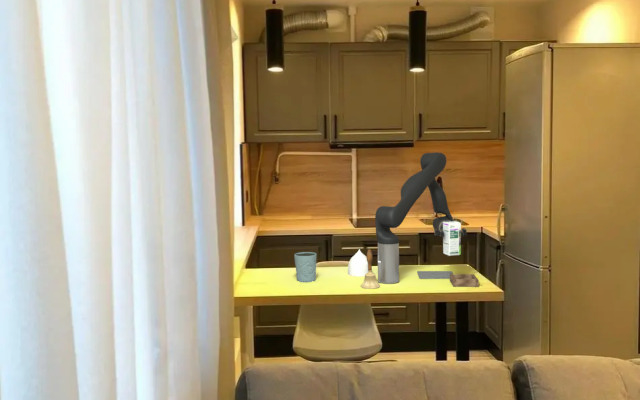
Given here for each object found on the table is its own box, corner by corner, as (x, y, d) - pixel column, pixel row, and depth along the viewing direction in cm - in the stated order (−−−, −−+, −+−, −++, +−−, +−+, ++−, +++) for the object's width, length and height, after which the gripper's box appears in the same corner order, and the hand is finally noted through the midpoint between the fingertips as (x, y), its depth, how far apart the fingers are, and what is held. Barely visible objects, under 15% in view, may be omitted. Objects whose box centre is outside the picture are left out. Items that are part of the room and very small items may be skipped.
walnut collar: (453, 286, 233) (453, 279, 233) (449, 280, 243) (449, 274, 243) (478, 286, 232) (478, 279, 232) (473, 280, 242) (473, 274, 242)
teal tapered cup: (314, 283, 244) (313, 256, 243) (292, 282, 246) (291, 255, 245) (319, 277, 254) (318, 252, 253) (297, 277, 256) (297, 251, 255)
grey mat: (419, 278, 248) (419, 277, 248) (417, 272, 260) (417, 271, 260) (455, 278, 247) (455, 277, 247) (451, 272, 259) (451, 271, 259)
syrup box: (449, 256, 240) (449, 222, 238) (442, 253, 245) (442, 221, 244) (461, 255, 241) (461, 222, 239) (454, 252, 247) (454, 220, 245)
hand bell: (364, 289, 231) (364, 252, 230) (357, 285, 239) (357, 248, 238) (383, 287, 233) (382, 250, 232) (375, 283, 241) (375, 247, 240)
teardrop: (372, 276, 255) (371, 250, 254) (348, 276, 255) (347, 251, 254) (370, 271, 266) (370, 246, 265) (347, 271, 266) (347, 246, 265)
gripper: (432, 220, 257) (435, 226, 240) (463, 220, 255) (469, 226, 239) (432, 236, 257) (435, 243, 241) (463, 236, 256) (469, 243, 240)
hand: (452, 234), depth 240 cm, fingers closed on syrup box, 7 cm apart
